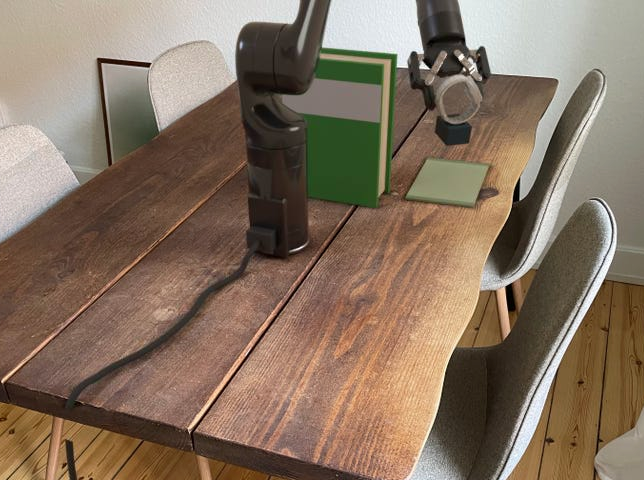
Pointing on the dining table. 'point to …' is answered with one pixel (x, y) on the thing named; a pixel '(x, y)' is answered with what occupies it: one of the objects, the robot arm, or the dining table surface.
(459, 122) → the watch
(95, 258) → the dining table surface
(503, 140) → the dining table surface
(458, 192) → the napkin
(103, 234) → the dining table surface
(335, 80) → the hardback book
